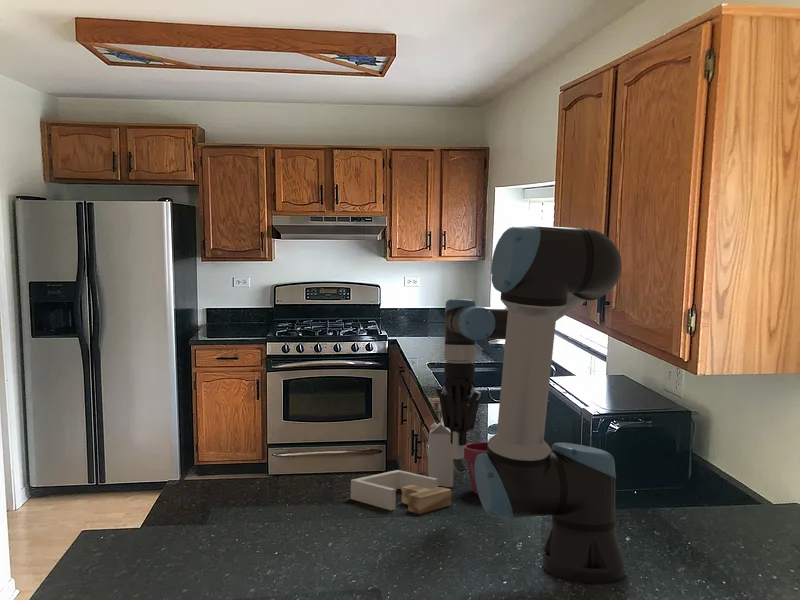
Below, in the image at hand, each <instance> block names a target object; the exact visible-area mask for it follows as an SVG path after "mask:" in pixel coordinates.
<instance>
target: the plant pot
mask: <svg viewBox="0 0 800 600" xmlns="http://www.w3.org/2000/svg"><path fill="white" fill-rule="evenodd" d="M487 447H488V441H481V442H480V441H479V442H471V443H466V445H464V458H463V459H464V461H465V462H466V463H467V470H468V473H469V479H470V483H471V488H472V492H473V493H474V494H476V495H478V491H477V487H476V481H475V470H474V466H475V459H476V457H477V455H478V454H481V453H487Z"/></svg>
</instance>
